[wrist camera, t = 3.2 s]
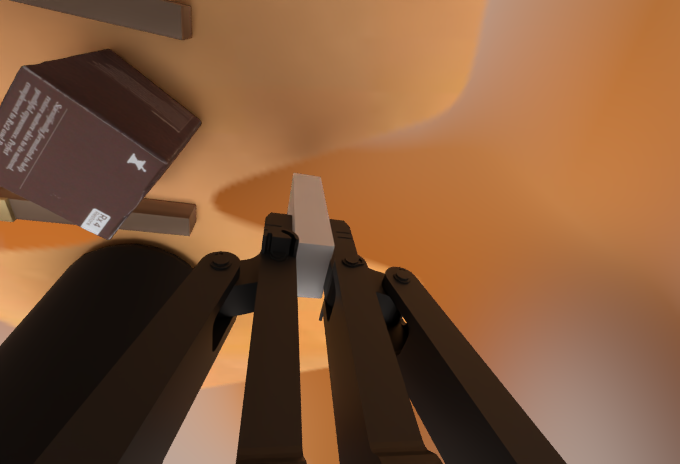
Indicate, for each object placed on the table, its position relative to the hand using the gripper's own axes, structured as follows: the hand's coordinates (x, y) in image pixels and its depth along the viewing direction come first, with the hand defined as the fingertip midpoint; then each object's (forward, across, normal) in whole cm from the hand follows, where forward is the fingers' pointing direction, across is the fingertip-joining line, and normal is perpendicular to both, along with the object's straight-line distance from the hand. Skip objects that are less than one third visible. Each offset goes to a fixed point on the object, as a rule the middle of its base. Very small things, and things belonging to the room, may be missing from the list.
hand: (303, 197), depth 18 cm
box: (+6, -11, +1) cm, 12 cm away
